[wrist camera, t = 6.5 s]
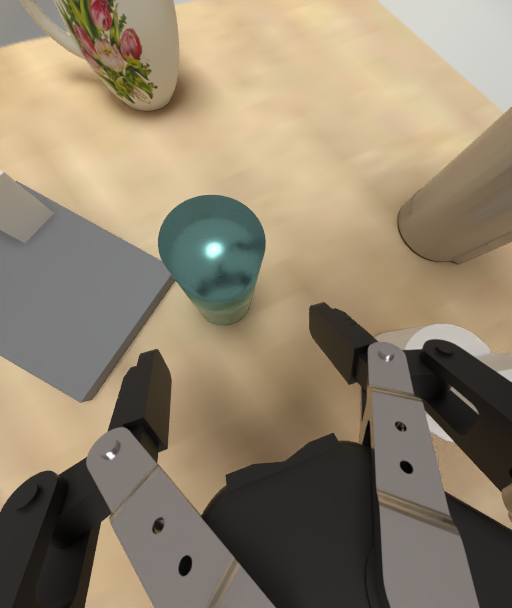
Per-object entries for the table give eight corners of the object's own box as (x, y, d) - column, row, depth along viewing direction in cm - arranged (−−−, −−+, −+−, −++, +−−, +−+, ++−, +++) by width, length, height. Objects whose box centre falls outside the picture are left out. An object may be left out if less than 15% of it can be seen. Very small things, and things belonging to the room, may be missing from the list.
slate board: (178, 274, 23) (175, 268, 22) (91, 399, 20) (80, 402, 18) (29, 191, 24) (16, 180, 23) (-81, 298, 20) (-106, 293, 19)
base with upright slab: (424, 326, 25) (592, 298, 13) (451, 413, 23) (679, 470, 11) (349, 337, 24) (460, 317, 12) (370, 429, 21) (530, 512, 10)
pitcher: (80, 48, 30) (-46, -203, 16) (213, 74, 31) (197, -141, 18) (53, 109, 27) (-124, -134, 14) (200, 134, 28) (170, -66, 15)
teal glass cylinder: (259, 289, 24) (283, 225, 12) (233, 335, 22) (232, 310, 11) (214, 265, 24) (196, 178, 12) (186, 308, 23) (135, 256, 11)
